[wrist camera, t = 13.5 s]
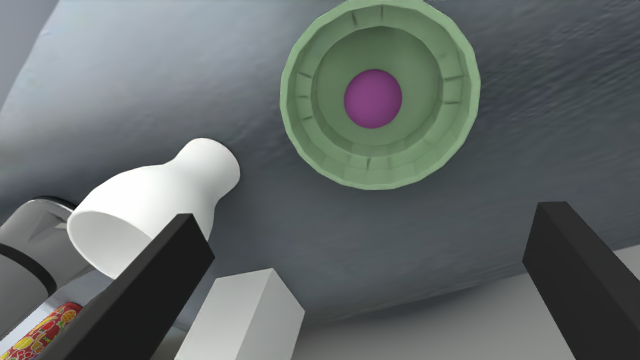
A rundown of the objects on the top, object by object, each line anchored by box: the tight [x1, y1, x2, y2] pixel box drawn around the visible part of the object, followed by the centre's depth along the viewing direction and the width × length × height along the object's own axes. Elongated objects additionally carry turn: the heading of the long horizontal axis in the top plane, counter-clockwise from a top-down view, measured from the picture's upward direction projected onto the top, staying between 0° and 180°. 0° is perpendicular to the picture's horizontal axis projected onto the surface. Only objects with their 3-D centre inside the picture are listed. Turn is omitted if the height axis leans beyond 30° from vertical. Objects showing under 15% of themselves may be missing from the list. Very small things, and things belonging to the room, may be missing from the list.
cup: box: [67, 138, 240, 280], centre depth 30 cm, size 11×11×15 cm
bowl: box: [280, 0, 481, 190], centre depth 25 cm, size 15×15×6 cm
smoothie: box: [0, 303, 83, 360], centre depth 59 cm, size 8×8×20 cm
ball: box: [344, 69, 402, 129], centre depth 25 cm, size 5×5×5 cm
